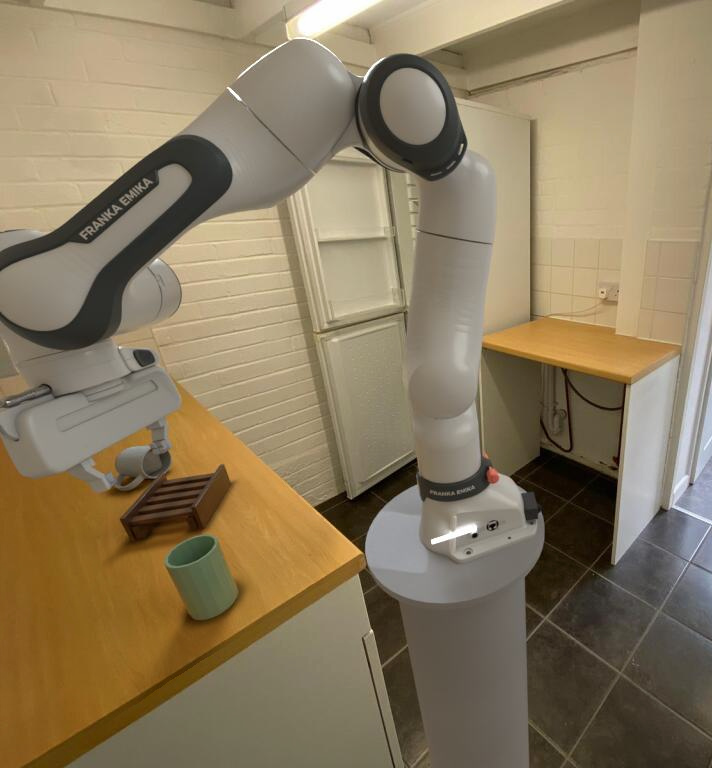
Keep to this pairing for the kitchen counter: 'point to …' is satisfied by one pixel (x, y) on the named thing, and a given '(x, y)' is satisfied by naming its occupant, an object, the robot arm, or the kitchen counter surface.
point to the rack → (176, 502)
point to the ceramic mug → (140, 465)
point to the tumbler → (202, 576)
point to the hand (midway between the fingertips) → (138, 468)
